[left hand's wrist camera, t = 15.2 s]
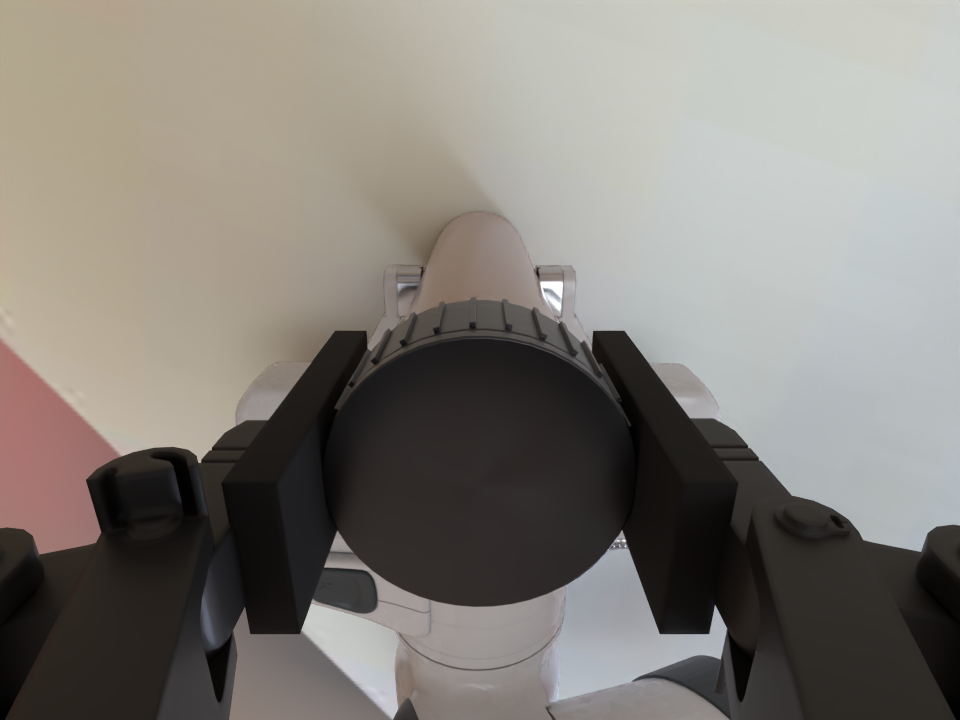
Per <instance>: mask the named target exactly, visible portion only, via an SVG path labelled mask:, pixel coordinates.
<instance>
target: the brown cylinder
mask: <svg viewBox="0 0 960 720" xmlns="http://www.w3.org/2000/svg"><path fill="white" fill-rule="evenodd" d="M471 297H476V300H490V301H500V302H502V300H503V299H507V300H508V302H509V303H511V304H515V305H520V306H523V307H526V308H528V309H531V310H532V309H533V307H535V308H538V309H539V312H540V313H541V314H543V315H545V316H547V317H549V318H550V319H552V320H554V321H556V319H555V317H554V314H553V312H552V310H551V307H550V305H549V302H548V300H547V298H546V295H545V293H544V291H543V288H542V286H541V283H540V281H539V279H538V276H537V274H536V272H535V269H534V267H533V264H532V262H531V260H530V257H529V255H528V253H527V250H526V248H525V245H524V243H523V241H522V238H521V236H520V235H519V233H518V231H517V230H516V229H515V227H514V226H513V225H512V224H511V223H510V222H508V221H507V220H506V219H504V218H502V217H500V216H498V215H496V214H493V213H489V212H471V213H467V214H464V215H461V216H459V217H457V218H456V219H454V220H453V221H451V222H450V223H449V224H448V225H447V226H446V227H445V228H444V229H443V231H442V232H441V234H440V236H439V238H438V240H437V242H436V244H435V247H434V249H433V252H432V254H431V256H430V259H429V261H428V263H427V266H426V268H425V270H424V273H423V275H422V278H421V280H420V282H419V285H418V287H417V289H416V292H415V294H414V296H413V299H412V301H411V304H410V306H409V308H408V311H407V313H406V315H405V318H404V320H403V322H404V321H406V320H408V318H409V316H410V314H411V313H413V312H415V313H416V315H417V314H419V313H421V312H423V311H426V310H428V309H430V308H434V307H437V306H439V302H443V301H444V302H445V304H448V303H454V302H460V301H467V300H471ZM556 322H557V321H556Z"/></svg>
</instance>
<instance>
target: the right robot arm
mask: <svg viewBox="0 0 960 720" xmlns="http://www.w3.org/2000/svg"><path fill="white" fill-rule="evenodd" d="M535 272H536V274H537V276H538V279H539V281H540V283H541V286H542V288H543V291H544V293H545V295H546V298H547V300H548V302H549V305H550V307H551V310H552V312H553V314H554V317H558V320H559V321H560V322H561V321H562V322H564V323H565V324H566V326H567V329H568V331H570V332H571V333H572V334H573V335H574V336H575V337H576V338H577V339H578V340H579V341H580V342H583V341H585V342H586V343H587V344H588V346H589V348H590V350H591V352H592V345H591V343H590V341H589V339H588V337H587V336H586V334H585V332H584V330H583V328H582V326H581V324H580V322H579V320H578V318H577V316H576V315H575V313H574V308H575V293H576V273H575V270H574V269H573V267H572V266H571V265H546V266H536V268H535ZM423 273H424V265H388V266H387V268H386V269H385V270H384V282H383V283H384V300H385V313H384V315H383V316H382V318H381V320H380V322H379V324H378V326H377V328H376V329H375V331H374V333H373V335H372V337H371V339H370V341H369V343H368V344H367V346H368V349H369V350H370V351H372V349H373V348H374V347H375V346H376V345H377V344H378V343H379V342H380V340H381V338H382V336H383V334H384V332H385V331H386V330H387V329H388V328H389V329H390V330H391V331H392V330H393V329H394V328H395V327H396V326H397V325H398V323H399V321H400V319H401V317H402V316H405V315H406V313H407V311H408V308H409V306H410V304H411V301H412V299H413V296H414V294H415V292H416V289H417V287H418V285H419V282H420V280H421V278H422V275H423ZM311 363H312V362H277V363H274V364H272V365H270V366H269V367H267V368H266V369H265V370H264V371H263V372H262V373H261V374H260V375H259V376H258V377H257V378H256V379H255V380H254V381H253V382H252V384H251V385H250V386H249V387H248V388H247V390H246V391H245V392H244V394H243V395H242V397H241V399H240V400H239V402H238V405H237V408H236V426H237V425H239V424H241V423H242V422H244V421H246V420H269V418H270V417H271V416H272V414H273V413H274V412H275V410H276V409H277V408H278V406H279V405H280V404H281V402H282V401H283V400H284V398H285V397H286V396H287V394H288V393H289V392H290V390H291V389H292V388H293V386H294V385H295V384H296V383H297V381H298V380H299V379H300V377H301V376H302V375H303V373H304V372H305V371H306V369H307V368H308V367H309V365H310V364H311ZM649 364H650V366H651V367H652V368H653V370H654V371H655V372H656V374H657V375H658V376H659V378H660V379H661V380H662V382H663V383H664V384H665V386H666V387H667V388H668V390H669V391H670V392H671V394H672V395H673V396H674V398H675V399H676V400H677V402H678V403H679V404H680V406H681V407H682V408H683V410H684V411H685V412H686V414H687V415H688V416H689V418H714V419H716V420H717V421H720V409H719V406H718V403H717V401H716V399H715V398H714V396H713V395H712V393H711V392H710V391H709V389H708V388H707V387H706V385H705V384H704V383H703V382H702V381H701V380H700V379H699V378H698V377H697V376H696V375H695V374H694V373H693V372H692V371H691V370H690V369H689V368H687V367H686V366H684V365H682V364H676V363H649ZM619 548H620V549H625V548H626V549H629V548H628V545H627V542H626V539H625V537H624V534H623V531H621V533H620V534H619V536H618V538H617V540H616V541H615V542H614V543H613V545H612V546H611V547H610V549H609V550H614V549H619ZM566 588H567V585H565V586H563V587H561V588H559V589H557V590H555V591H553V592H551V593H549V594H546V595H543V596H540V597H537V598H534V599H532V600H528V601H524V602H519V603H515V604H510V605H502V606H494V607H468V606H456V605H450V604H445V603H440V602H435V601H432V600H429V599H425V598H422V597H419V596H416V595H414V594H412V593H409V592H407V591H404V590H402V589H400V588H398V587H397V586H395V585H393V584H391V583H389V582H387V581H386V580H384V579H383V578H382V577H380V576H379V575H377V574H376V573H375V572H373V571H372V570H371V569H370V568H368V567H367V566H366V565H365V564H364V563H363V562H362V561H361V560H360V559H359V558H358V557H357V556H356V555H355V554H354V553H353V551H352V550H351V549H350V548H349V547H348V546H347V544H346V543H345V541H344V540H343V538H342V537H341V535H340V534H339V532H338V530H337V533H336V536H335V538H334V541H333V544H332V547H331V549H330V552H329V555H328V558H327V560H326V563H325V566H324V569H323V571H322V574H321V577H320V580H319V582H318V585H317V588H316V591H315V593H314V596H313V599H312V602H311V604H315V605H319V606H323V607H327V608H331V609H335V610H338V611H342V612H345V613H349V614H352V615H356V616H359V617H362V618H365V619H368V620H370V621H373V622H376V623H378V624H381V625H383V626H386V627H388V628H390V629H393V630H395V631H396V633H397V635H398V637H399V639H400V642H399V645H398V649H397V654H396V660H395V679H396V693H397V702H398V711H397V713H396V715H395V717H394V719H393V720H731V714H730V707H729V699H728V691H727V684H726V682H725V687H724V691H723V694H719V693H715V688H716V681H717V676H718V671H719V666H720V662H721V660H720V659H717V658H714V657H710V656H701V655H700V656H694V657H691V658H688V659H685V660H683V661H680V662H677V663H675V664H672V665H669V666H667V667H664V668H661V669H659V670H656V671H653V672H650V673H648V674H645V675H642V676H640V677H638V678H636V679H635V680H633V681H632V682H630V683H626V684H622V685H619V686H615V687H611V688H607V689H603V690H599V691H595V692H591V693H587V694H583V695H579V696H575V697H572V698H568V699H564V700H560V701H557V700H558V691H559V682H560V659H559V653H558V649H557V645H556V640H557V637H558V635H559V633H560V630H561V628H562V623H563V619H564V614H565V602H566Z"/></svg>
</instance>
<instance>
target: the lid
mask: <svg viewBox="0 0 960 720" xmlns="http://www.w3.org/2000/svg"><path fill="white" fill-rule="evenodd" d="M620 402H622V400H621V398H620V396H619V395H618V393H617V391H616V389H615V387H614V385H613V384H612V382H611V380H610V378H609V376H608V374H607V373H606V371H605V369H604V367H603V365H602V364H599V365H598V363H597V361H596V359H595V357H594V355H593V354H592V352H591V350H590V348H589V346H588V344H587V343H586V342H585V341H583V342H580V341H579V340H578V339H577V338H576V337H575V336H574V335H573V334H572V333H571V332H570V331H568V329H567V326H566V324H565V323H564V322H562V321H561V322H560V323H557V322H556V321H554V320H552V319H550V318H549V317H547V316H545V315H543V314H541V313H540V312H539V309H538V308H535V307H533V309H532V310H531V309H528V308H526V307H523V306H520V305H515V304H511V303H509V302H508V300H507V299H503V300H502V302H500V301H490V300H476V297H471V300H467V301H460V302H454V303H448V304H445V302H444V301H443V302H439V306H437V307H434V308H430V309H428V310H426V311H423V312H421V313H419V314H417V315H416V313H415V312H413V313H411V314H410V316H409V318H408V320H406V321H404V322H403V323H401V324H399V325H398V326H397V327H395V328H394V329H393V330H392V331H391V330H390V329H389V328H388V329H387V330H386V331H385V332H384V334H383V336H382V338H381V340H380V342H379V343H378V344H377V345H376V346H375V347H374V348H373V349H372V351H370V350H369V349H367V351H366V352H365V354H364V356H363V358H362V359H361V361H360V363H359V365H358V367H357V369H356V371H355V372H354V373H353V374H352V376H351V378H350V380H349V382H348V384H347V385H346V387H345V389H344V391H343V393H342V395H341V397H340V398H339V400H338V402H337V404H336V406H335V408H334V410H333V413H334V414H336V416H335V418H334V420H333V422H332V424H331V426H330V429H329V432H328V435H327V438H326V441H325V446H324V452H323V458H322V475H323V484H324V492H325V500H326V503H327V507H328V510H329V513H330V516H331V518H332V520H333V522H334V524H335V526H336V528H337V530H338V532H339V534H340V535H341V537H342V538H343V540H344V541H345V543H346V544H347V546H348V547H349V548H350V549H351V550H352V551H353V553H354V554H355V555H356V556H357V557H358V558H359V559H360V560H361V561H362V562H363V563H364V564H365V565H366V566H367V567H368V568H370V569H371V570H372V571H373V572H375V573H376V574H377V575H379V576H380V577H382V578H383V579H384V580H386V581H387V582H389V583H391V584H393V585H395V586H397V587H398V588H400V589H402V590H404V591H407V592H409V593H412V594H414V595H416V596H419V597H422V598H425V599H429V600H432V601H435V602H440V603H445V604H450V605H456V606H468V607H494V606H502V605H510V604H515V603H519V602H524V601H528V600H532V599H534V598H537V597H540V596H543V595H546V594H549V593H551V592H553V591H555V590H557V589H559V588H561V587H563V586H565V585H567V584H568V583H570V582H572V581H573V580H575V579H577V578H578V577H580V576H581V575H582V574H584V573H585V572H586V571H587V570H589V569H590V568H591V567H592V566H594V565H595V564H596V563H597V562H598V561H599V560H600V559H601V558H602V557H603V556H604V555H605V554H606V552H607V551H608V550H609V549H610V547H611V546H612V545H613V543H614V542H615V541H616V540H617V538H618V536H619V534H620V533H621V531H622V529H623V527H624V526H625V524H626V522H627V519H628V517H629V514H630V512H631V509H632V506H633V502H634V497H635V489H636V480H637V471H638V464H637V453H636V448H635V444H634V439H633V436H632V433H631V431H632V430H633V429H632V425H631V423H630V422H629V420H628V418H627V416H626V414H625V412H624V410H623V408H622V406H621V405H620Z"/></svg>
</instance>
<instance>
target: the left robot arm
mask: <svg viewBox="0 0 960 720" xmlns="http://www.w3.org/2000/svg"><path fill="white" fill-rule="evenodd" d="M367 349H368V346H367V333H366V331H335V332H334V333H333V335H332V336H331V337H330V339H329V340H328V341H327V343H326V344H325V345H324V347H323V348H322V349H321V351H320V352H319V353H318V355H317V356H316V357H315V359H314V360H313V361H312V363H311V364H310V365H309V367H308V368H307V369H306V371H305V372H304V373H303V375H302V376H301V377H300V379H299V380H298V381H297V383H296V384H295V385H294V386H293V388H292V389H291V390H290V392H289V393H288V394H287V396H286V397H285V398H284V400H283V401H282V402H281V404H280V405H279V406H278V408H277V409H276V410H275V412H274V413H273V414H272V416H271V417H270V418H269V420H246V421H244V422H242V423H241V424H239V425H237V426H236V427H234V428H232V429H230V430H229V431H227V432H225V433H224V434H223V436H222V437H221V438H220V439H219V440H218V441H217V442H216V444H215V445H214V446H213V447H212V451H209V452H208V453H207V454H206V455H205V456H204V457H203V459H202V460H201V463H198V460H197V456H196V455H195V454H193V453H192V452H190V451H189V450H186V449H181V448H176V447H163V448H152V449H147V450H142V451H137V452H133V453H130V454H127V455H125V456H122V457H119V458H117V459H114V460H112V461H110V462H109V463H107V464H105V465H103V466H102V467H100V468H98V469H97V470H96V471H95V472H94V473H93V474H92V475H90V476H89V478H88V479H86V482H87V485H88V488H89V492H90V495H91V499H92V502H93V505H94V509H95V512H96V516H97V519H98V522H99V525H100V529H101V534H100V536H99V538H98V540H97V542H96V543H94V544H90V545H86V546H81V547H76V548H71V549H66V550H61V551H56V552H51V553H46V554H40V555H39V553H38V550H37V547H36V544H35V541H34V538H33V536H32V535H31V534H29V533H28V532H26V531H25V530H24V529H15V528H0V720H229V716H230V708H231V700H232V693H233V685H234V677H235V670H236V662H237V649H236V643H235V638H234V633H233V629H234V627H235V625H236V623H237V621H238V619H239V617H240V615H241V613H242V611H243V609H244V607H245V608H246V614H247V619H248V624H249V629H250V633H251V634H300V632H301V629H302V627H303V624H304V621H305V618H306V616H307V613H308V610H309V607H310V605H311V602H312V599H313V596H314V593H315V591H316V588H317V585H318V582H319V580H320V577H321V574H322V571H323V569H324V566H325V563H326V560H327V558H328V555H329V552H330V549H331V547H332V544H333V541H334V538H335V536H336V533H337V528H336V526H335V524H334V522H333V520H332V518H331V516H330V513H329V510H328V507H327V503H326V500H325V492H324V484H323V475H322V458H323V452H324V446H325V441H326V438H327V435H328V432H329V429H330V426H331V424H332V422H333V420H334V418H335V416H336V414H334V413H333V410H334V408H335V406H336V404H337V402H338V400H339V398H340V397H341V395H342V393H343V391H344V389H345V387H346V385H347V384H348V382H349V380H350V378H351V376H352V374H353V373H354V372H355V371H356V369H357V367H358V365H359V363H360V361H361V359H362V358H363V356H364V354H365V352H366V351H367ZM592 354H593V355H594V357H595V359H596V361H597V363H598V365H599V364H602V365H603V367H604V369H605V371H606V373H607V374H608V376H609V378H610V380H611V382H612V384H613V385H614V387H615V389H616V391H617V393H618V395H619V396H620V398H621V400H622V402H620V405H621V406H622V408H623V410H624V412H625V414H626V416H627V418H628V420H629V422H630V423H631V425H632V429H633V430H632V431H631V433H632V436H633V439H634V444H635V448H636V453H637V464H638V471H637V480H636V489H635V497H634V502H633V506H632V509H631V512H630V514H629V517H628V519H627V522H626V524H625V526H624V527H623V529H622V531H623V534H624V537H625V539H626V542H627V545H628V548H629V550H630V553H631V556H632V559H633V561H634V564H635V567H636V570H637V572H638V575H639V578H640V581H641V583H642V586H643V589H644V592H645V594H646V597H647V600H648V603H649V605H650V608H651V611H652V614H653V616H654V619H655V622H656V625H657V627H658V630H659V633H660V634H709V632H710V627H711V622H712V617H713V612H714V606H715V605H716V607H717V609H718V611H719V613H720V615H721V617H722V619H723V621H724V623H725V625H726V627H727V633H726V638H725V642H724V647H723V652H722V657H721V662H720V666H719V671H718V676H717V681H716V688H715V693H719V694H723V691H724V687H725V682H726V684H727V691H728V699H729V707H730V714H731V720H960V526H958V525H948V526H939V527H936V528H934V529H933V530H931V531H930V532H929V533H928V534H927V537H926V540H925V543H924V546H923V548H922V551H921V552H918V551H913V550H908V549H902V548H897V547H892V546H887V545H882V544H877V543H872V542H868V541H864V540H863V539H862V537H861V535H860V533H859V532H858V530H857V529H856V528H855V527H854V526H853V524H852V523H851V522H850V521H849V520H848V519H847V518H845V517H844V516H842V515H841V514H839V513H838V512H836V511H835V510H833V509H831V508H829V507H827V506H824V505H822V504H820V503H817V502H815V501H812V500H808V499H804V498H800V497H795V496H792V495H791V494H790V493H789V492H788V491H787V490H786V489H785V487H784V486H783V485H782V484H781V483H780V482H779V481H778V479H777V478H776V477H775V476H774V475H773V474H772V473H771V471H770V470H769V469H768V468H767V467H766V466H765V465H764V463H763V462H762V461H759V458H758V456H757V455H756V454H755V453H754V452H753V451H752V450H751V448H748V445H747V444H746V443H745V442H744V440H743V439H742V438H741V437H740V436H739V435H738V434H737V432H736V431H735V430H733V429H731V428H729V427H728V426H726V425H724V424H723V423H721V422H719V421H717V420H716V419H714V418H689V416H688V415H687V414H686V412H685V411H684V410H683V408H682V407H681V406H680V404H679V403H678V402H677V400H676V399H675V398H674V396H673V395H672V394H671V392H670V391H669V390H668V388H667V387H666V386H665V384H664V383H663V382H662V380H661V379H660V378H659V376H658V375H657V374H656V372H655V371H654V370H653V368H652V367H651V366H650V364H649V363H648V362H647V360H646V359H645V358H644V356H643V355H642V354H641V352H640V351H639V350H638V348H637V347H636V346H635V344H634V343H633V342H632V340H631V339H630V338H629V336H628V335H627V334H626V332H625V331H593V341H592Z"/></svg>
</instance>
